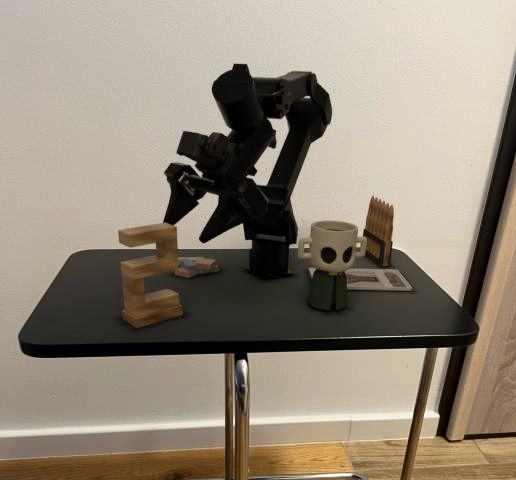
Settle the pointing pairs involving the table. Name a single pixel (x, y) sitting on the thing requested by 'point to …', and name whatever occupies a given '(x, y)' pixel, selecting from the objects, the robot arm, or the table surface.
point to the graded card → (374, 279)
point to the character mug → (331, 261)
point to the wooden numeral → (166, 259)
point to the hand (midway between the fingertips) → (182, 234)
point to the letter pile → (195, 266)
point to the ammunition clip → (379, 232)
